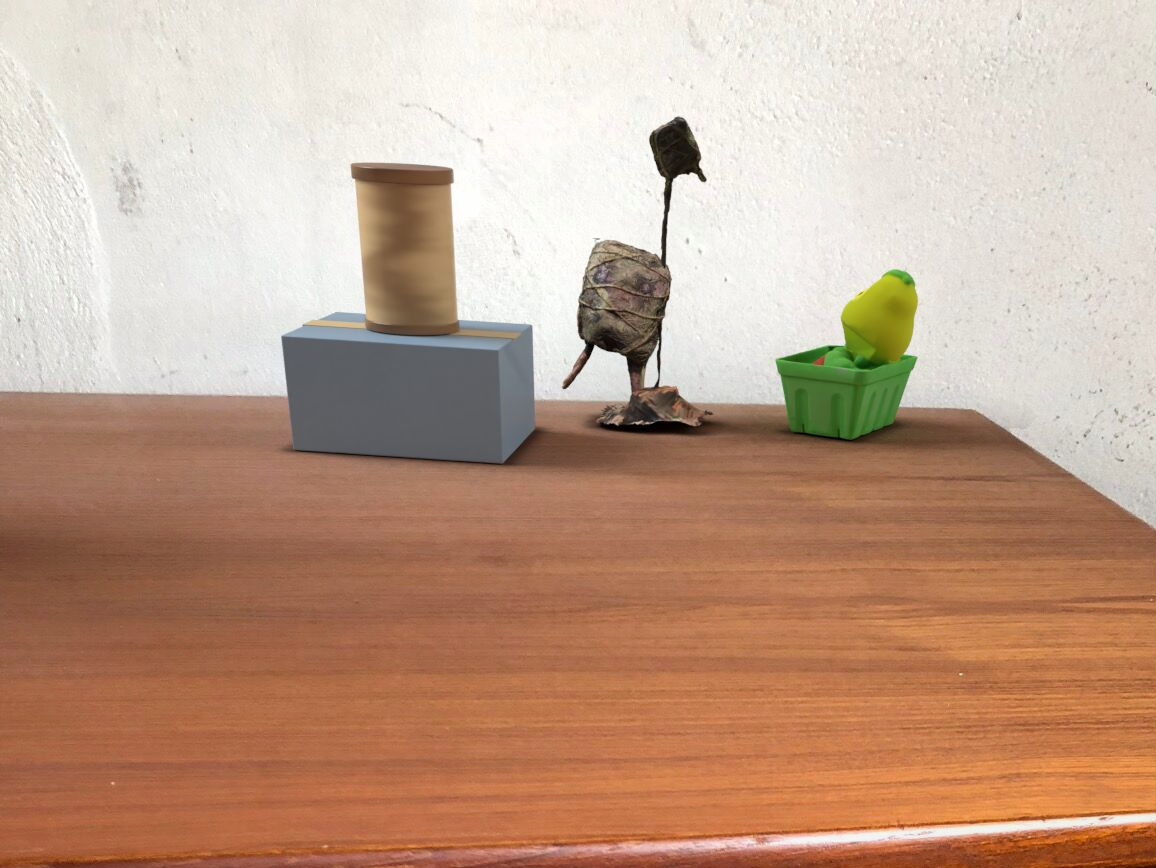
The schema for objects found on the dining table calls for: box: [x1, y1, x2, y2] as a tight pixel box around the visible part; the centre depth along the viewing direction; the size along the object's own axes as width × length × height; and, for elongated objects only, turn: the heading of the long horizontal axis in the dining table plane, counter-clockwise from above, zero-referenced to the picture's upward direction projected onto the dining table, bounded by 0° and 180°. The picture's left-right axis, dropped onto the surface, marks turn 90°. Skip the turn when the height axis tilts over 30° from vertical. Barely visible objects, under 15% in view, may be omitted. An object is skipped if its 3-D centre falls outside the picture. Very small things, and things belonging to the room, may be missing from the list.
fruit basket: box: [775, 268, 919, 441], centre depth 113 cm, size 11×9×11 cm
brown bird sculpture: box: [561, 115, 715, 427], centre depth 108 cm, size 8×11×20 cm
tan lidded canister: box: [350, 162, 460, 336], centre depth 98 cm, size 6×6×10 cm
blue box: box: [280, 311, 536, 465], centre depth 103 cm, size 14×12×7 cm
